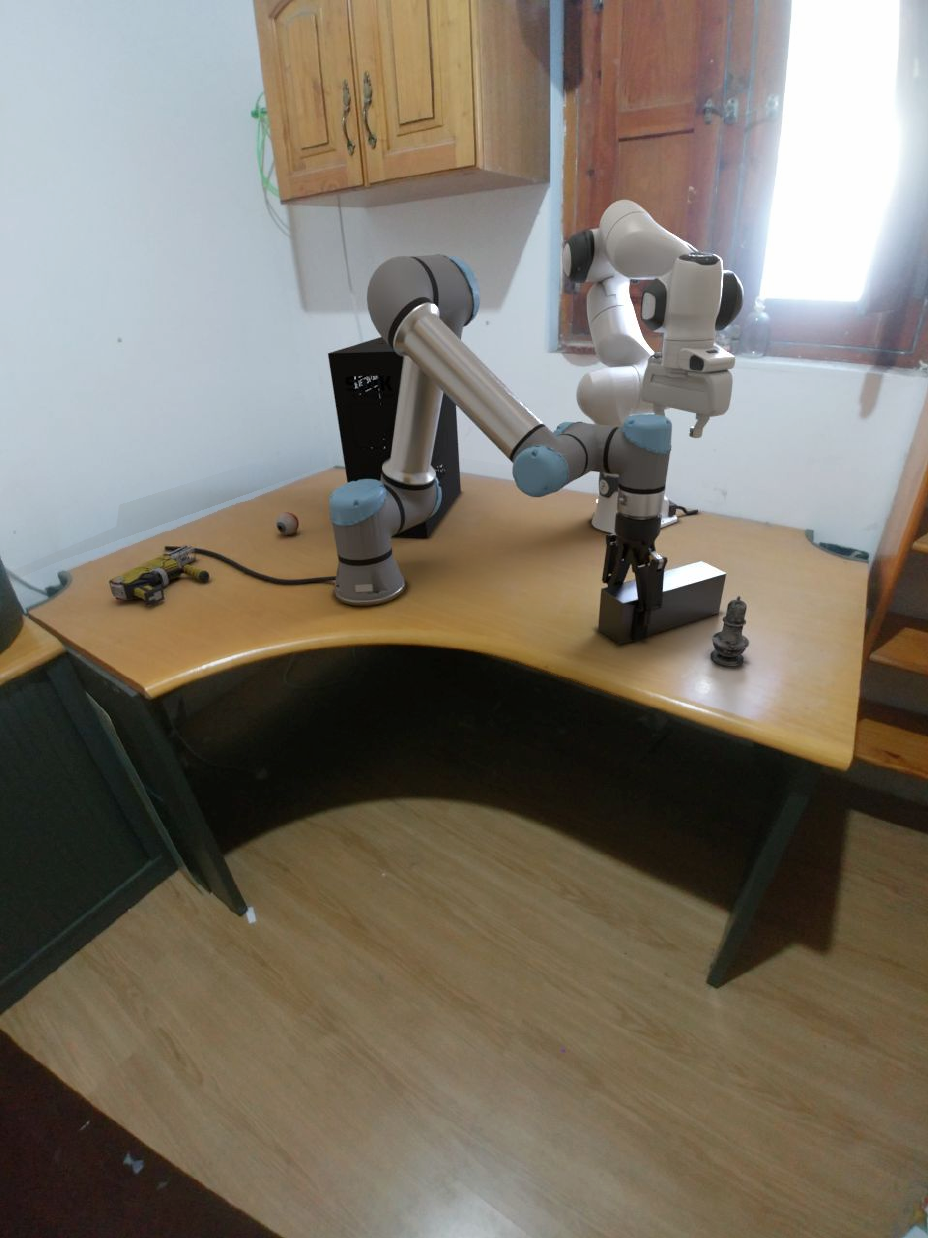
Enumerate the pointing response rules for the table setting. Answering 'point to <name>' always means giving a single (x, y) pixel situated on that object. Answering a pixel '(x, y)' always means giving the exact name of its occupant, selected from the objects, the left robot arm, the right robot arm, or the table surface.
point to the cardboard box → (386, 421)
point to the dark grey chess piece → (731, 636)
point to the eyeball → (287, 523)
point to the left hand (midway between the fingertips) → (626, 629)
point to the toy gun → (155, 576)
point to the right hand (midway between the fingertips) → (677, 432)
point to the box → (663, 601)
